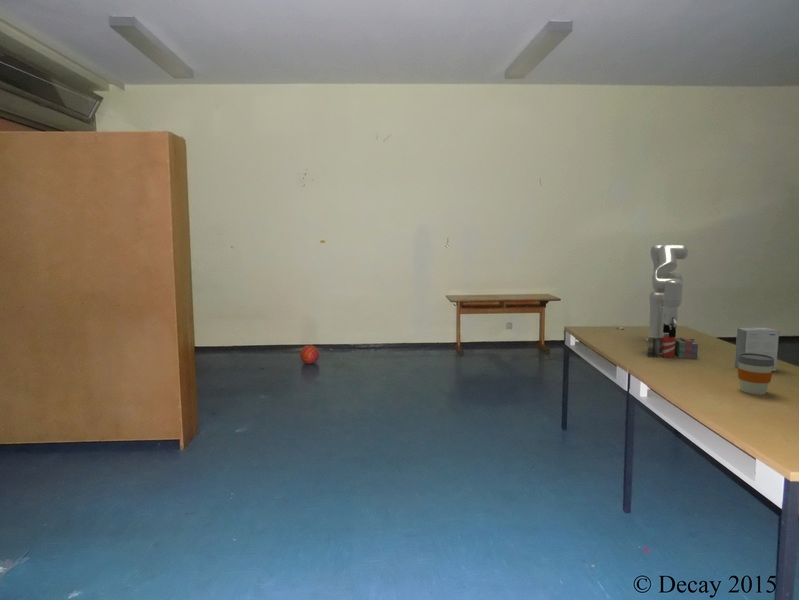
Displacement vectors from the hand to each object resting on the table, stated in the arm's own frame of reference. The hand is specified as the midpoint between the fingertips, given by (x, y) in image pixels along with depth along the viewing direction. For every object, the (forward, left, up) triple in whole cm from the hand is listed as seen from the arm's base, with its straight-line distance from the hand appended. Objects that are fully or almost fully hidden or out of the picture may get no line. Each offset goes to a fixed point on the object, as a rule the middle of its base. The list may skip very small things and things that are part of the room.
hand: (669, 334), depth 270 cm
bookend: (-2, -8, -12) cm, 15 cm away
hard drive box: (+19, +34, -12) cm, 41 cm away
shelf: (-3, +3, -12) cm, 13 cm away
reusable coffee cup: (+59, +16, -12) cm, 62 cm away
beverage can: (+1, 0, -12) cm, 12 cm away
